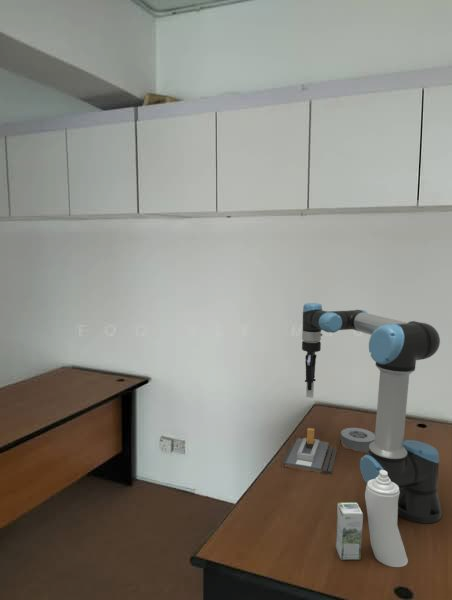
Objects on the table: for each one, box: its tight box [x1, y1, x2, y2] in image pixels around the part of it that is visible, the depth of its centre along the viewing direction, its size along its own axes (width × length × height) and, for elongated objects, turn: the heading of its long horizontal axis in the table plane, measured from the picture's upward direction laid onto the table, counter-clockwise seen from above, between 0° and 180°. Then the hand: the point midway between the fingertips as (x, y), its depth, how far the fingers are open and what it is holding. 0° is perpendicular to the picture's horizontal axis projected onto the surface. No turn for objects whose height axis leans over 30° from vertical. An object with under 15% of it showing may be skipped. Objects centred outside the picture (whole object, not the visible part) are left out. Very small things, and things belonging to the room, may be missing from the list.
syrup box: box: [335, 502, 364, 561], centre depth 132 cm, size 6×6×14 cm
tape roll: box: [340, 427, 375, 451], centre depth 207 cm, size 15×15×5 cm
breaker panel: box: [281, 437, 338, 475], centre depth 194 cm, size 26×20×4 cm
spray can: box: [364, 470, 409, 568], centre depth 131 cm, size 12×11×25 cm
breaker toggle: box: [306, 427, 315, 449], centre depth 199 cm, size 3×3×8 cm
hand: (309, 396), depth 191 cm, fingers closed
